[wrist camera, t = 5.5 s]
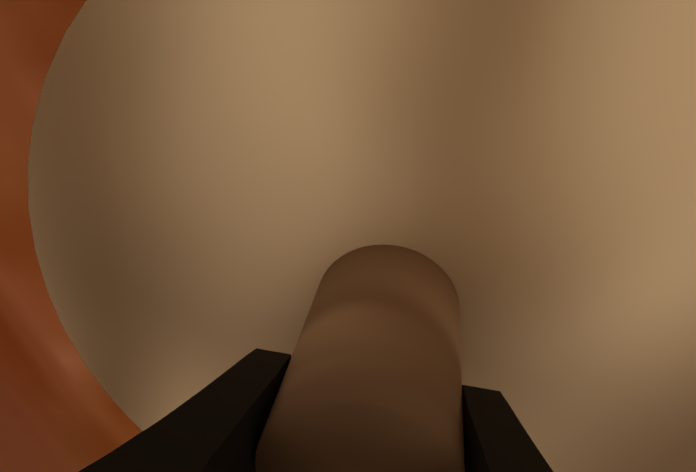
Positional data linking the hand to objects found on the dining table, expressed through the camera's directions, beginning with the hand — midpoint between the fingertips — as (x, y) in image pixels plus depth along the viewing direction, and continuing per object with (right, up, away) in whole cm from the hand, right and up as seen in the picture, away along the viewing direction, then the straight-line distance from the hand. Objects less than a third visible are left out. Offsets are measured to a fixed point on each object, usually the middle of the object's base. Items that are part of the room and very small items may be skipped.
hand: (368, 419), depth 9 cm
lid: (+1, +2, +2) cm, 3 cm away
